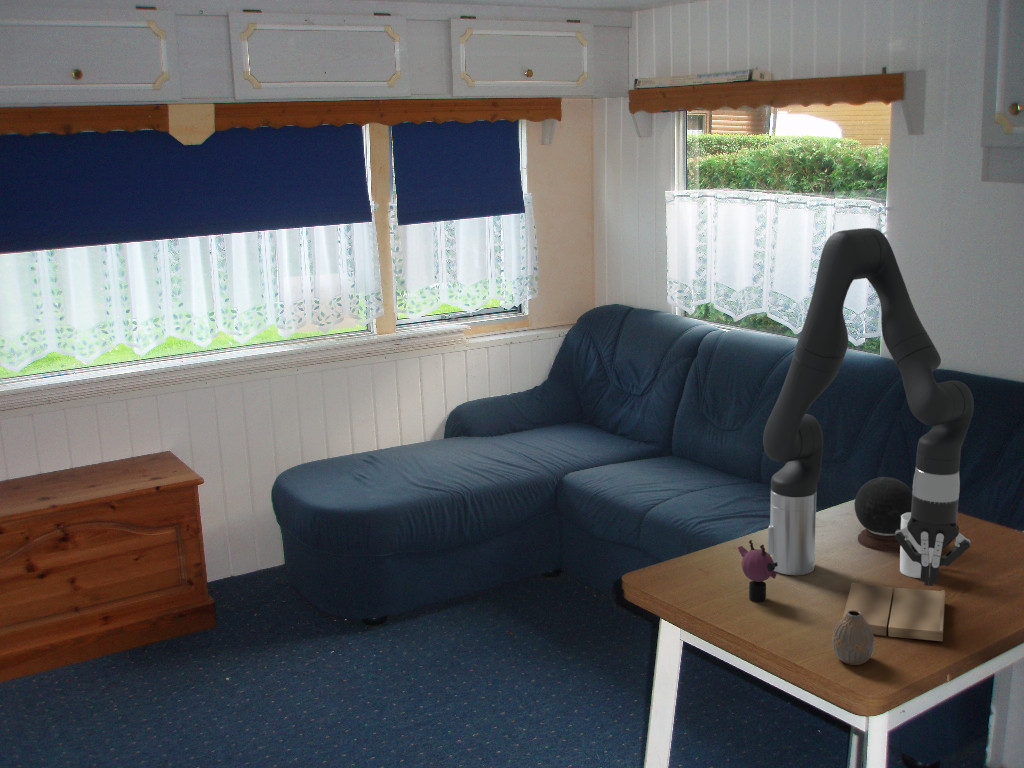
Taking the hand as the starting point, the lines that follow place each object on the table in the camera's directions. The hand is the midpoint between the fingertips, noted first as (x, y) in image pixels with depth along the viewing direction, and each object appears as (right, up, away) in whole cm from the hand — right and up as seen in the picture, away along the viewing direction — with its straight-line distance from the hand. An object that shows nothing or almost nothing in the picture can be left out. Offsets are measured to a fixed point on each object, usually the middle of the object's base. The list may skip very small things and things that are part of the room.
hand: (928, 584), depth 179 cm
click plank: (+1, -8, +7) cm, 11 cm away
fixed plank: (-7, -8, +11) cm, 15 cm away
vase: (-16, -12, -6) cm, 21 cm away
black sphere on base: (+9, 0, +45) cm, 45 cm away
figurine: (-26, -7, +19) cm, 33 cm away
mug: (+10, -3, +29) cm, 31 cm away
